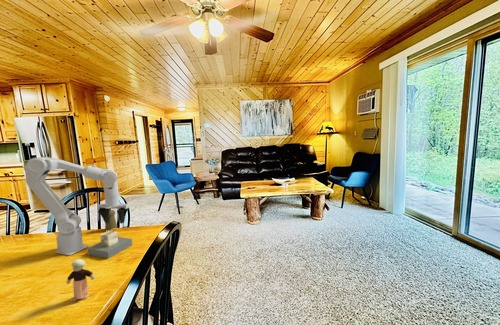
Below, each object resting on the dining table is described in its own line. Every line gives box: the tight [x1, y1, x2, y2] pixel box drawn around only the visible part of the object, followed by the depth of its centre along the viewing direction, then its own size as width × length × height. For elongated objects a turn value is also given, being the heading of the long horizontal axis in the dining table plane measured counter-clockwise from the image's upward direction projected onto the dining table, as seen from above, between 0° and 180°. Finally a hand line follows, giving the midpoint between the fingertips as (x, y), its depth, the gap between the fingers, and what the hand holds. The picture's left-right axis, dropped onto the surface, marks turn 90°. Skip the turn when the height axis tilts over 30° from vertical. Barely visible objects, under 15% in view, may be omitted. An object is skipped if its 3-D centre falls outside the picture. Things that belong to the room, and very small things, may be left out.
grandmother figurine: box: [65, 258, 96, 302], centre depth 66 cm, size 8×4×13 cm, turn 114°
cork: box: [104, 209, 119, 231], centre depth 118 cm, size 6×6×11 cm
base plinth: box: [87, 236, 133, 259], centre depth 96 cm, size 12×12×3 cm
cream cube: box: [99, 230, 119, 247], centre depth 96 cm, size 4×4×5 cm
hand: (114, 222), depth 104 cm, fingers open, 7 cm apart
